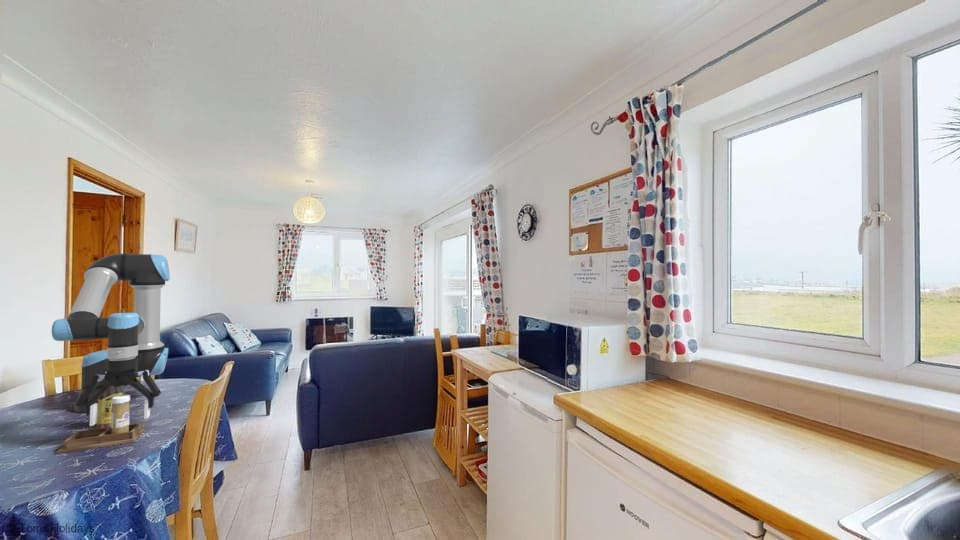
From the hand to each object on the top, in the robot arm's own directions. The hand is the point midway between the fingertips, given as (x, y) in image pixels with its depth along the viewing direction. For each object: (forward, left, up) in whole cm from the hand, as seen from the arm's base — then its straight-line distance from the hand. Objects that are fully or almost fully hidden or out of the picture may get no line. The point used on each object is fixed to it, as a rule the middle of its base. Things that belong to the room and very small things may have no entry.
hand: (120, 420), depth 122 cm
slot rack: (0, -4, -6) cm, 7 cm away
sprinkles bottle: (0, 0, -5) cm, 5 cm away
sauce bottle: (-15, -8, -6) cm, 18 cm away
